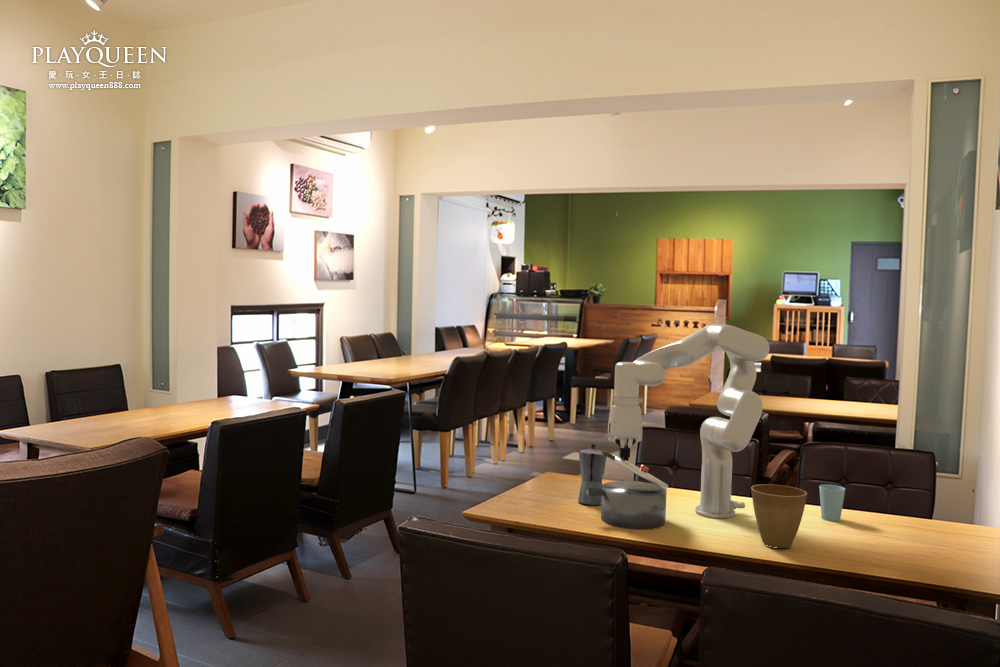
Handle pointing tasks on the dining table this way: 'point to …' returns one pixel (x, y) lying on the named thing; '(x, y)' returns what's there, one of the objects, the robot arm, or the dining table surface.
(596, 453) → the moka pot
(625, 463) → the cooker lid
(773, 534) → the plant pot
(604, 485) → the cooker pot
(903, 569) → the dining table surface
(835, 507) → the cup
